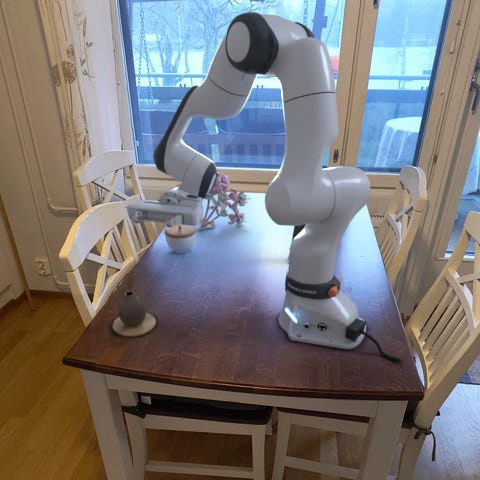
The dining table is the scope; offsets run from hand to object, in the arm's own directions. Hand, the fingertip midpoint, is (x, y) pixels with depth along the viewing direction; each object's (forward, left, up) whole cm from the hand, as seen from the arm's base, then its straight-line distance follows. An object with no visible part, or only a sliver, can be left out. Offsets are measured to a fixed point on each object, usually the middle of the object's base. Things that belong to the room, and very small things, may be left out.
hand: (151, 222), depth 108 cm
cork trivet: (-1, +13, -23) cm, 27 cm away
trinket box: (+14, -32, -23) cm, 42 cm away
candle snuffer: (-23, -44, -27) cm, 57 cm away
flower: (+12, -60, -23) cm, 66 cm away
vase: (-1, +13, -23) cm, 27 cm away
